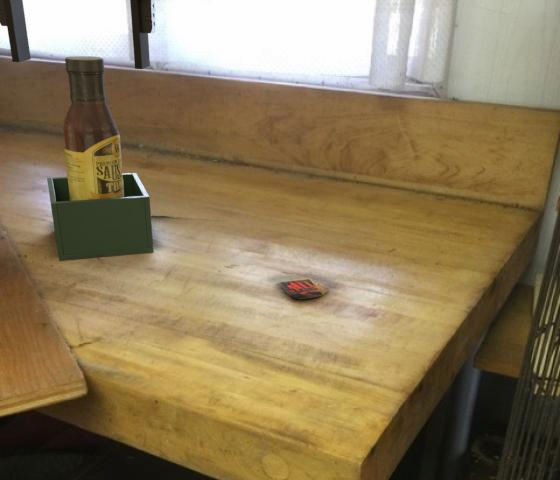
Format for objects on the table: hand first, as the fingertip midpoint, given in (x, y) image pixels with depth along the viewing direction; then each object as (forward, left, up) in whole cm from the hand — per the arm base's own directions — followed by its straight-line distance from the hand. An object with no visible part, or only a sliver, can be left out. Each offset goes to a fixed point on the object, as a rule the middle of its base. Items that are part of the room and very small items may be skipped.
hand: (81, 64), depth 75 cm
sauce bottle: (0, 0, -19) cm, 19 cm away
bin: (0, 0, -20) cm, 20 cm away
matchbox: (+26, -10, -20) cm, 34 cm away
